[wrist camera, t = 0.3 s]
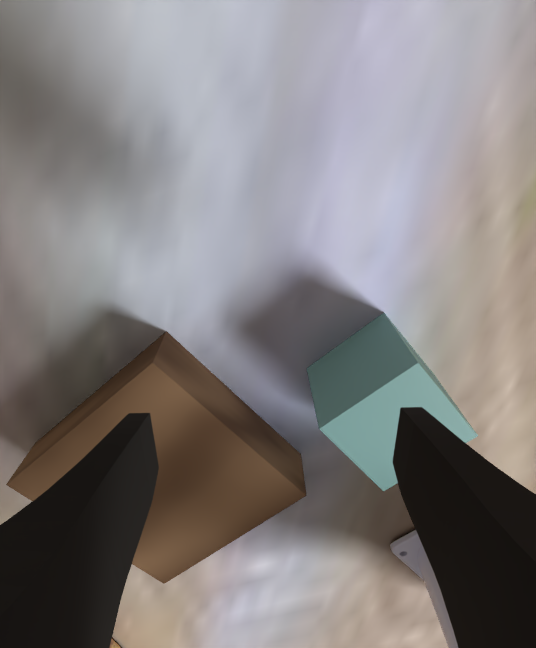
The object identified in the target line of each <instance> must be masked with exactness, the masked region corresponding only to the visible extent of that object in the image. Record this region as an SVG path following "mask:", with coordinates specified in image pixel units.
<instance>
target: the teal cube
mask: <svg viewBox="0 0 536 648" xmlns="http://www.w3.org/2000/svg"><path fill="white" fill-rule="evenodd" d="M307 373H308V378H309V382H310V387H311V392H312V397H313V402H314V407H315V411H316V416H317V421H318V426H319V429H320V430H321V431H322V432H323V433H324V434H325V435H326V436H327V437H328V438H329V439H330V440H331V441H332V442H333V443H334V444H335V445H336V446H337V447H338V448H339V449H340V450H341V451H342V452H343V453H344V454H345V455H346V456H348V457H349V458H350V459H351V460H352V461H353V462H354V463H355V464H356V465H357V466H358V467H359V468H360V469H361V470H362V471H363V472H364V473H365V474H366V475H367V476H368V477H369V478H370V479H371V480H372V481H373V482H374V483H375V484H376V485H377V486H378V487H379V488H381V489H382V490H383V491H385V490H387V489H389V488H390V487H392V486H394V485H395V484H397V483H398V481H397V477H396V474H395V470H394V466H393V462H392V461H393V455H394V448H395V441H396V435H397V428H398V421H399V415H400V408H401V407H422V408H424V409H425V410H426V411H427V412H429V413H430V414H431V415H432V416H434V417H435V418H436V419H437V420H438V421H439V422H441V423H442V424H443V425H444V426H445V427H447V428H448V429H449V430H450V431H451V432H453V433H454V434H455V435H456V436H457V437H459V438H460V439H461V440H462V441H463V442H465V443H467V442H469V441H470V440H472V439H474V438H475V437H477V436H478V435H477V434H476V432H475V431H474V430H473V428H472V427H471V425H470V424H469V423H468V421H467V420H466V418H465V417H464V416H463V414H462V413H461V411H460V410H459V409H458V407H457V406H456V404H455V403H454V402H453V400H452V399H451V397H450V396H449V395H448V393H447V392H446V390H445V389H444V388H443V386H442V385H441V383H440V382H439V381H438V379H437V378H436V376H435V375H434V374H433V373H432V371H431V370H430V369H429V368H428V366H427V365H426V364H425V363H424V362H423V360H422V359H421V358H420V357H419V355H418V354H417V353H416V352H415V350H414V349H413V348H412V347H411V345H410V344H409V343H408V342H407V340H406V339H405V338H404V337H403V336H402V334H401V333H400V332H399V331H398V329H397V328H396V327H395V326H394V324H393V323H392V322H391V321H390V319H389V318H388V317H387V316H386V315H385V313H383V314H381V315H380V316H379V317H377V318H376V319H374V320H373V321H372V322H370V323H369V324H367V325H366V326H365V327H363V328H362V329H361V330H359V331H358V332H356V333H355V334H354V335H352V336H351V337H350V338H348V339H347V340H345V341H344V342H343V343H341V344H340V345H338V346H337V347H336V348H334V349H333V350H332V351H330V352H329V353H327V354H326V355H325V356H323V357H322V358H321V359H319V360H318V361H316V362H315V363H314V364H312V365H311V366H309V367H308V368H307Z"/></svg>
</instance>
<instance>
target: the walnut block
mask: <svg viewBox="0 0 536 648" xmlns="http://www.w3.org/2000/svg"><path fill="white" fill-rule="evenodd" d="M129 413H150V416H151V422H152V428H153V434H154V440H155V446H156V452H157V458H158V464H159V470H158V475H157V480H156V486H155V490H154V495H153V500H152V503H151V507H150V510H149V513H148V516H147V519H146V522H145V525H144V528H143V531H142V534H141V537H140V540H139V543H138V546H137V549H136V552H135V555H134V558H133V561H132V564H133V565H135V566H136V567H138V568H140V569H141V570H143V571H144V572H146V573H148V574H149V575H151V576H152V577H154V578H156V579H157V580H159V581H160V582H162V583H166V582H168V581H169V580H171V579H173V578H174V577H176V576H177V575H179V574H181V573H182V572H184V571H185V570H187V569H189V568H190V567H192V566H194V565H195V564H197V563H198V562H200V561H202V560H203V559H205V558H206V557H208V556H210V555H211V554H213V553H214V552H216V551H218V550H219V549H221V548H223V547H224V546H226V545H227V544H229V543H231V542H232V541H234V540H235V539H237V538H239V537H240V536H242V535H244V534H245V533H247V532H248V531H250V530H252V529H253V528H255V527H256V526H258V525H260V524H261V523H263V522H264V521H266V520H268V519H269V518H271V517H273V516H274V515H276V514H277V513H279V512H281V511H282V510H284V509H285V508H287V507H289V506H290V505H292V504H294V503H295V502H297V501H298V500H300V499H302V498H303V497H305V496H306V489H305V481H304V474H303V466H302V459H301V454H300V453H299V452H298V451H297V450H296V449H295V448H293V447H292V446H291V445H290V444H289V443H288V442H287V441H286V440H285V439H284V438H283V437H281V436H280V435H279V434H278V433H277V432H276V431H275V430H274V429H273V428H272V427H270V426H269V425H268V424H267V423H266V422H265V421H264V420H263V419H262V418H261V417H260V416H258V415H257V414H256V413H255V412H254V411H253V410H252V409H251V408H250V407H249V406H248V405H246V404H245V403H244V402H243V401H242V400H241V399H240V398H239V397H238V396H237V395H235V394H234V393H233V392H232V391H231V390H230V389H229V388H228V387H227V386H226V385H225V384H223V383H222V382H221V381H220V380H219V379H218V378H217V377H216V376H215V375H214V374H213V373H211V372H210V371H209V370H208V369H207V368H206V367H205V366H204V365H203V364H202V363H200V362H199V361H198V360H197V359H196V358H195V357H194V356H193V355H192V354H191V353H190V352H188V351H187V350H186V349H185V348H184V347H183V346H182V345H181V344H180V343H179V342H177V341H176V340H175V339H174V338H173V337H172V336H171V335H170V334H169V333H168V332H167V331H166V332H165V333H164V334H163V335H162V336H160V337H159V338H158V339H157V340H156V341H155V342H153V343H152V344H151V345H150V346H149V347H148V348H146V349H145V350H144V351H143V352H142V353H140V354H139V355H138V356H137V357H136V358H135V359H133V360H132V361H131V362H130V363H129V364H128V365H126V366H125V367H124V368H123V369H122V370H121V371H119V372H118V373H117V374H116V375H115V376H114V377H112V378H111V379H110V380H109V381H108V382H106V383H105V384H104V385H103V386H102V387H101V388H99V389H98V390H97V391H96V392H95V393H94V394H92V395H91V396H90V397H89V398H88V399H87V400H85V401H84V402H83V403H82V404H81V405H79V406H78V407H77V408H76V409H75V410H74V411H72V412H71V413H70V414H69V415H68V416H67V417H65V418H64V419H63V420H62V421H61V422H60V423H58V424H57V425H56V426H55V427H54V428H53V429H51V430H50V431H49V432H48V433H47V434H45V435H44V436H43V437H42V438H41V439H40V440H38V441H37V442H36V443H35V444H34V446H33V447H32V449H31V450H30V451H29V453H28V454H27V456H26V457H25V459H24V460H23V461H22V463H21V464H20V466H19V467H18V469H17V470H16V471H15V473H14V474H13V476H12V477H11V479H10V480H9V481H8V483H7V484H6V485H7V486H9V487H11V488H12V489H14V490H15V491H17V492H19V493H20V494H22V495H23V496H25V497H27V498H28V499H30V500H31V501H34V500H35V499H36V498H38V497H39V496H40V495H41V494H43V493H44V492H45V491H46V490H48V489H49V488H50V487H51V486H52V485H53V484H55V483H56V482H57V481H58V480H59V479H60V478H61V477H63V476H64V475H65V474H66V473H67V472H68V471H69V470H71V469H72V468H73V467H74V466H75V465H76V464H77V463H78V462H79V461H80V460H81V459H83V458H84V457H85V456H86V455H87V454H88V453H89V452H90V451H91V450H92V449H93V448H94V447H95V446H96V445H97V444H98V443H99V442H100V441H101V440H102V439H103V438H104V437H105V436H106V435H107V434H108V433H109V432H110V431H111V430H112V429H113V428H114V427H115V426H116V425H117V424H118V423H119V422H120V421H121V420H122V419H123V418H124V417H125V416H126V415H128V414H129Z"/></svg>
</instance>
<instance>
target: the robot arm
mask: <svg viewBox="0 0 536 648" xmlns="http://www.w3.org/2000/svg"><path fill="white" fill-rule="evenodd" d="M392 462H393V466H394V470H395V474H396V477H397V481H398V485H399V488H400V491H401V495H402V497H403V500H404V502H405V505H406V507H407V510H408V512H409V515H410V517H411V519H412V522H413V524H414V527H415V529H416V530H414V531H412V532H410V533H409V534H407V535H405V536H403V537H401V538H399V539H398V540H396V541H394V542H393V543H392V544H391V545H390V547H391V551H392V552H393V554H395V555H396V556H397V557H398V558H399V559H400V560H401V561H402V562H404V563H405V564H406V565H407V566H408V567H409V568H410V569H411V570H413V571H414V572H415V573H416V574H417V575H418V576H419V577H420V578H422V579H423V580H424V581H425V584H426V587H427V590H428V592H429V595H430V598H431V601H432V603H433V606H434V609H435V611H436V614H437V617H438V620H439V622H440V625H441V628H442V630H443V633H444V636H445V639H446V641H447V644H448V647H449V648H536V494H534V493H533V492H531V491H529V490H528V489H526V488H525V487H524V486H522V485H521V484H519V483H518V482H516V481H515V480H513V479H512V478H511V477H509V476H508V475H506V474H505V473H504V472H502V471H501V470H500V469H498V468H497V467H495V466H494V465H493V464H491V463H490V462H489V461H487V460H486V459H485V458H484V457H482V456H481V455H480V454H478V453H477V452H476V451H475V450H473V449H472V448H471V447H470V446H468V445H467V444H466V443H465V442H463V441H462V440H461V439H460V438H459V437H457V436H456V435H455V434H454V433H453V432H451V431H450V430H449V429H448V428H447V427H445V426H444V425H443V424H442V423H441V422H439V421H438V420H437V419H436V418H435V417H434V416H432V415H431V414H430V413H429V412H427V411H426V410H425V409H424V408H422V407H401V408H400V415H399V421H398V428H397V435H396V441H395V448H394V455H393V461H392ZM158 470H159V464H158V458H157V452H156V446H155V440H154V434H153V428H152V422H151V416H150V413H129V414H128V415H126V416H125V417H124V418H123V419H122V420H121V421H120V422H119V423H118V424H117V425H116V426H115V427H114V428H113V429H112V430H111V431H110V432H109V433H108V434H107V435H106V436H105V437H104V438H103V439H102V440H101V441H100V442H99V443H98V444H97V445H96V446H95V447H94V448H93V449H92V450H91V451H90V452H89V453H88V454H87V455H86V456H85V457H84V458H83V459H81V460H80V461H79V462H78V463H77V464H76V465H75V466H74V467H73V468H72V469H71V470H69V471H68V472H67V473H66V474H65V475H64V476H63V477H61V478H60V479H59V480H58V481H57V482H56V483H55V484H53V485H52V486H51V487H50V488H49V489H48V490H46V491H45V492H44V493H43V494H41V495H40V496H39V497H38V498H36V499H35V500H34V501H33V502H31V503H30V504H29V505H27V506H26V507H25V508H23V509H22V510H21V511H19V512H18V513H17V514H15V515H14V516H13V517H11V518H10V519H8V520H7V521H6V522H4V523H3V524H1V525H0V648H110V643H111V639H112V635H113V630H114V626H115V622H116V617H117V613H118V609H119V605H120V600H121V596H122V593H123V590H124V586H125V583H126V579H127V576H128V573H129V570H130V567H131V564H132V561H133V558H134V555H135V552H136V549H137V546H138V543H139V540H140V537H141V534H142V531H143V528H144V525H145V522H146V519H147V516H148V513H149V510H150V507H151V503H152V500H153V495H154V490H155V486H156V480H157V475H158Z"/></svg>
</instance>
